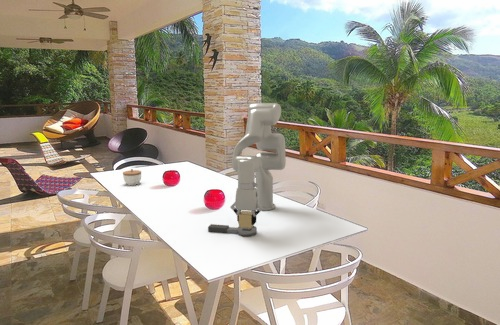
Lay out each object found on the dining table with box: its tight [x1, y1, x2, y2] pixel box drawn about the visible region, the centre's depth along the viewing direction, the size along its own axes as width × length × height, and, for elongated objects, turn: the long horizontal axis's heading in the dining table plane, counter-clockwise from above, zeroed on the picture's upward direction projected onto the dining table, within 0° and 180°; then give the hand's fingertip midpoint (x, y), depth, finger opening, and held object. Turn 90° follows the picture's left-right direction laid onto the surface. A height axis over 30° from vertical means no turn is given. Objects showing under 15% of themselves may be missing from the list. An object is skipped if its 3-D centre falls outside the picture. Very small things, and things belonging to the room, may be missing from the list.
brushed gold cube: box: [238, 210, 254, 228], centre depth 185 cm, size 6×6×6 cm
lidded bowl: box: [122, 169, 142, 186], centre depth 286 cm, size 13×13×11 cm
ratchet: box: [207, 223, 258, 238], centre depth 188 cm, size 9×23×6 cm, turn 75°
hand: (246, 223), depth 186 cm, fingers closed on brushed gold cube, 6 cm apart
